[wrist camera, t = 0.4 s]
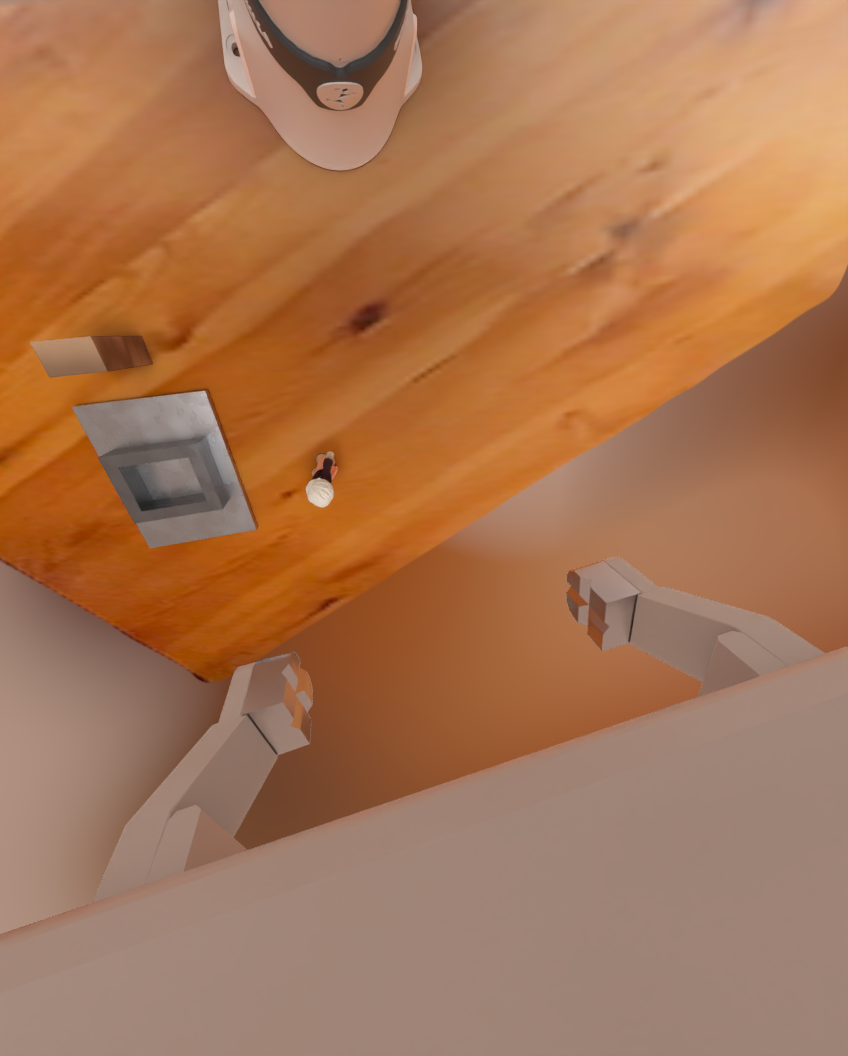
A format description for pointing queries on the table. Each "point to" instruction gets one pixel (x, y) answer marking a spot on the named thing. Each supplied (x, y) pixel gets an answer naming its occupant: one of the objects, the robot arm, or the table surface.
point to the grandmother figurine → (322, 480)
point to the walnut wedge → (91, 354)
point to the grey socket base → (170, 466)
